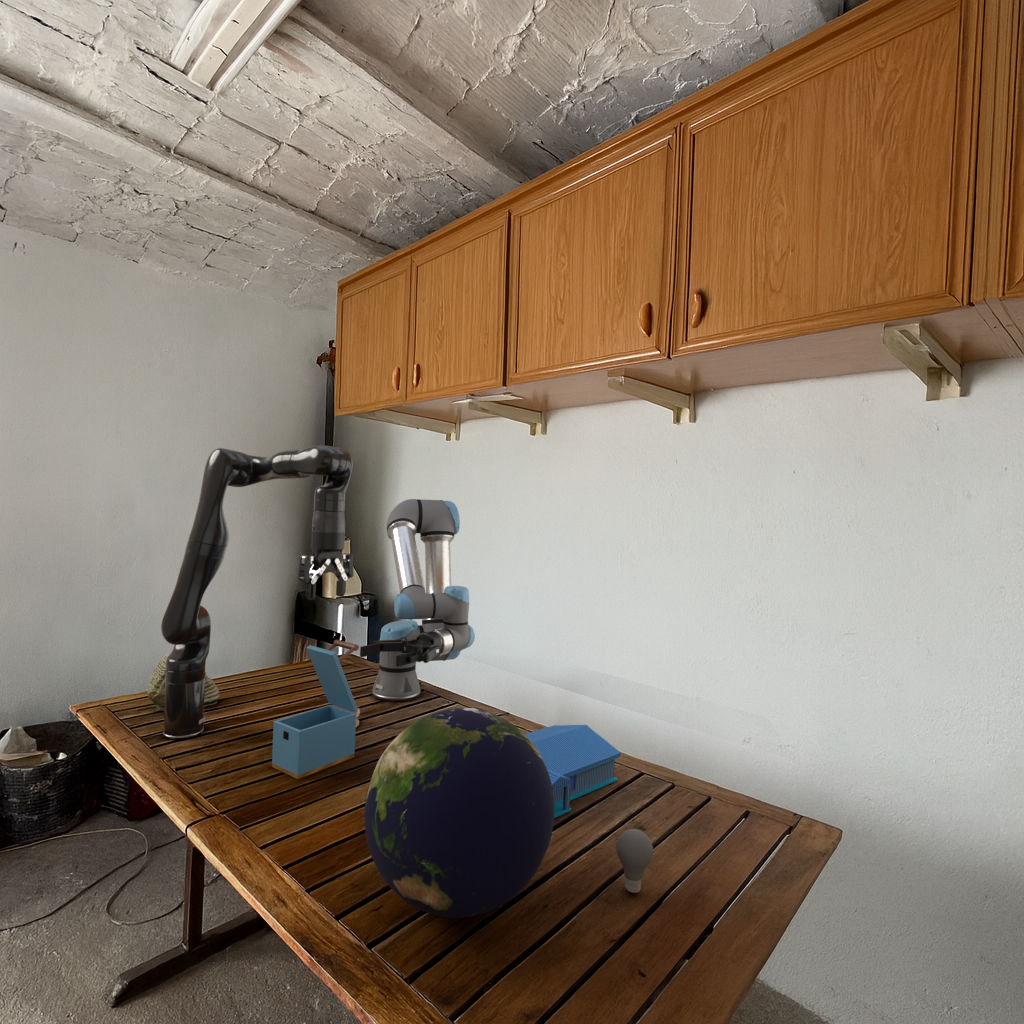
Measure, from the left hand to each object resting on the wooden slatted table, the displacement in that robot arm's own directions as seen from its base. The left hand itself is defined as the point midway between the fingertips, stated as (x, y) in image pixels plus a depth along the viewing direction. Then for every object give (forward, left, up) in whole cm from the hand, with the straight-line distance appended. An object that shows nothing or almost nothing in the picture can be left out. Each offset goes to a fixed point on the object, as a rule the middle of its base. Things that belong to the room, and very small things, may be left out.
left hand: (325, 597), depth 151 cm
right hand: (-3, +17, -17) cm, 25 cm away
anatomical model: (-18, +13, -39) cm, 45 cm away
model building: (+43, +29, -39) cm, 65 cm away
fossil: (-58, -14, -39) cm, 71 cm away
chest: (0, -2, -39) cm, 39 cm away
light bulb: (+79, +16, -39) cm, 90 cm away
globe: (+63, -8, -39) cm, 74 cm away
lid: (-1, +2, -20) cm, 20 cm away
